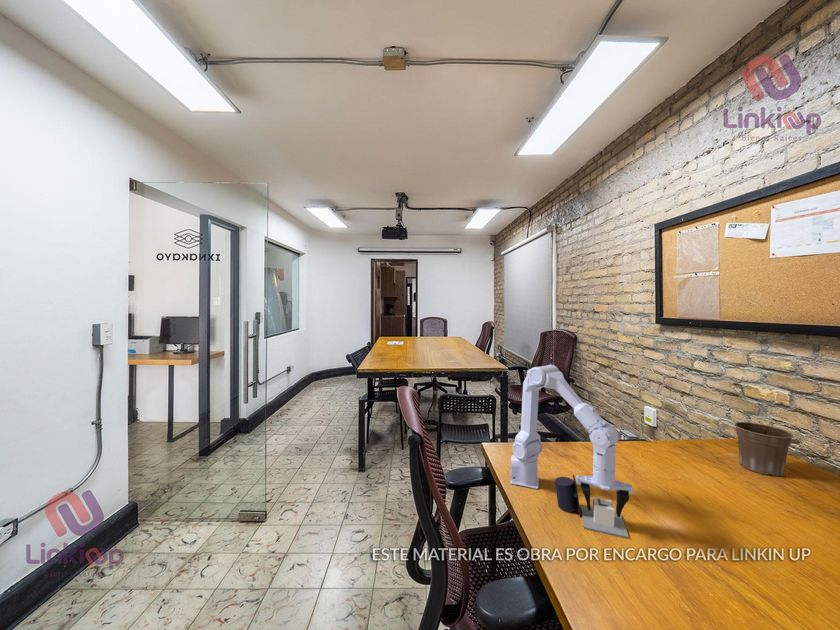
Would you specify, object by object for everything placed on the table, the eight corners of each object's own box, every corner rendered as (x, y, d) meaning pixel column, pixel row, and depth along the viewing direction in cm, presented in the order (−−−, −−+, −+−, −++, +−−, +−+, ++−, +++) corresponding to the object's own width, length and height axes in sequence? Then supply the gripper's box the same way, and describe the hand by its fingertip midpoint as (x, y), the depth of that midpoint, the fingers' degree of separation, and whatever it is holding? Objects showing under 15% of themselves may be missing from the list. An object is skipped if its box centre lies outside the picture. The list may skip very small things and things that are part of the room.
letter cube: (594, 522, 96) (594, 505, 96) (592, 512, 101) (592, 496, 101) (614, 527, 94) (614, 509, 94) (611, 516, 99) (611, 499, 99)
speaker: (585, 508, 104) (582, 475, 104) (581, 517, 99) (577, 483, 99) (560, 501, 108) (557, 470, 109) (555, 510, 104) (551, 477, 104)
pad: (584, 528, 94) (584, 526, 94) (580, 507, 104) (580, 505, 104) (628, 538, 90) (628, 537, 90) (620, 515, 100) (620, 513, 100)
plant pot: (796, 472, 128) (797, 431, 128) (788, 484, 119) (789, 440, 119) (739, 456, 142) (740, 419, 141) (728, 466, 133) (729, 426, 132)
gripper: (577, 468, 96) (577, 513, 96) (636, 477, 91) (635, 526, 91) (576, 457, 102) (575, 500, 103) (630, 466, 97) (629, 511, 97)
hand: (603, 512), depth 97 cm, fingers open, 7 cm apart
